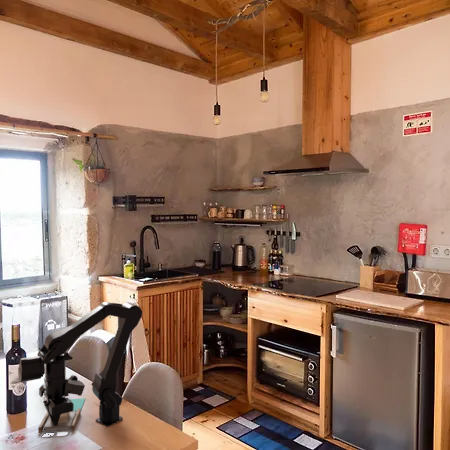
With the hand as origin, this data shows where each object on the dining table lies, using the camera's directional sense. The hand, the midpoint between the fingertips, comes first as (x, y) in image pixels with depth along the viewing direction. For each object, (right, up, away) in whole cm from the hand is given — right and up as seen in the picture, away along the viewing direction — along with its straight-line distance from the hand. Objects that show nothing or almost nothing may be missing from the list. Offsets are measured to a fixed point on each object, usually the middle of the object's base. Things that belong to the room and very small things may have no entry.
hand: (55, 425), depth 130 cm
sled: (-1, -3, +7) cm, 8 cm away
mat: (-3, -3, +20) cm, 21 cm away
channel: (-1, -3, +6) cm, 7 cm away
